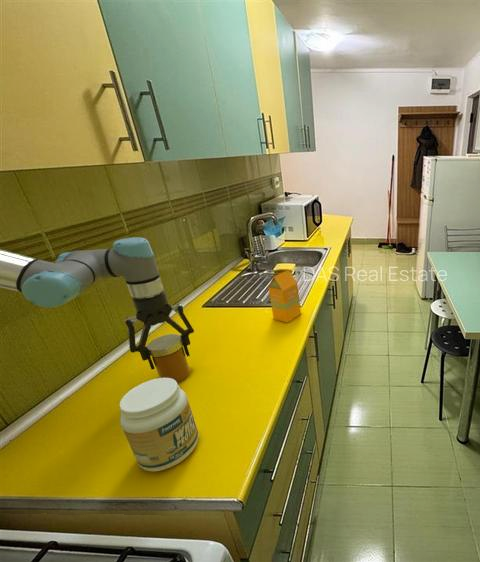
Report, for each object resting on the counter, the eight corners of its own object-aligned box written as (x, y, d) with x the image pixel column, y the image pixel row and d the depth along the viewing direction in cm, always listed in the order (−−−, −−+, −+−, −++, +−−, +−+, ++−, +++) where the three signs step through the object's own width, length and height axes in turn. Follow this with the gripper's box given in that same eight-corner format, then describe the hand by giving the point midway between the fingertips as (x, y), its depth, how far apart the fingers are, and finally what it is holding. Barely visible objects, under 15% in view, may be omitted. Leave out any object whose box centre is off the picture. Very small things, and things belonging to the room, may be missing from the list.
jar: (154, 384, 92) (142, 351, 87) (172, 367, 99) (161, 336, 94) (179, 385, 91) (168, 352, 87) (195, 368, 99) (186, 336, 94)
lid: (151, 360, 85) (148, 354, 85) (147, 347, 91) (144, 341, 91) (185, 348, 91) (183, 342, 90) (179, 337, 97) (178, 330, 96)
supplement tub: (183, 473, 66) (161, 414, 59) (125, 476, 65) (97, 417, 59) (209, 426, 77) (192, 373, 71) (159, 429, 77) (138, 375, 70)
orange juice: (301, 313, 132) (296, 270, 124) (287, 322, 125) (281, 277, 117) (287, 309, 135) (281, 267, 127) (273, 318, 128) (265, 274, 120)
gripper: (188, 279, 93) (205, 341, 102) (97, 300, 80) (125, 369, 89) (194, 287, 88) (211, 351, 97) (98, 310, 75) (128, 383, 84)
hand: (170, 360), depth 93 cm, fingers closed on lid, 9 cm apart
